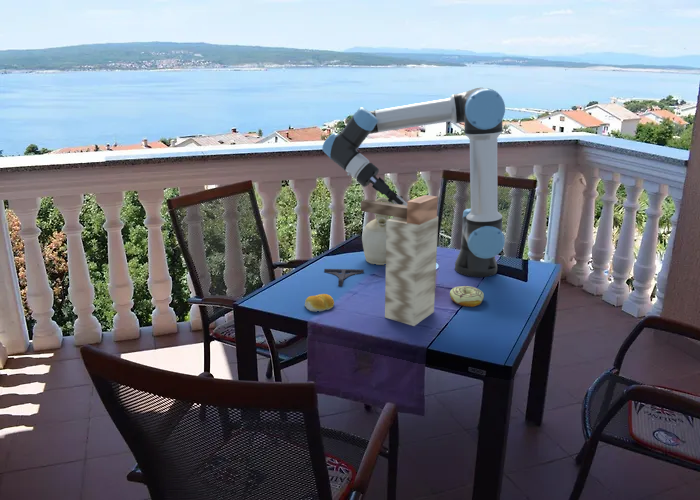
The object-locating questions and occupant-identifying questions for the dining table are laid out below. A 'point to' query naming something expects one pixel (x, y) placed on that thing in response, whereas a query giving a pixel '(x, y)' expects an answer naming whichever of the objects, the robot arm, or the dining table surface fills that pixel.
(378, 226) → the jug
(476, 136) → the robot arm
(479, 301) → the decorated donut
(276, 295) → the dining table surface
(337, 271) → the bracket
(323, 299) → the bread roll
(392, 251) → the stand
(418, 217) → the wooden mallet
